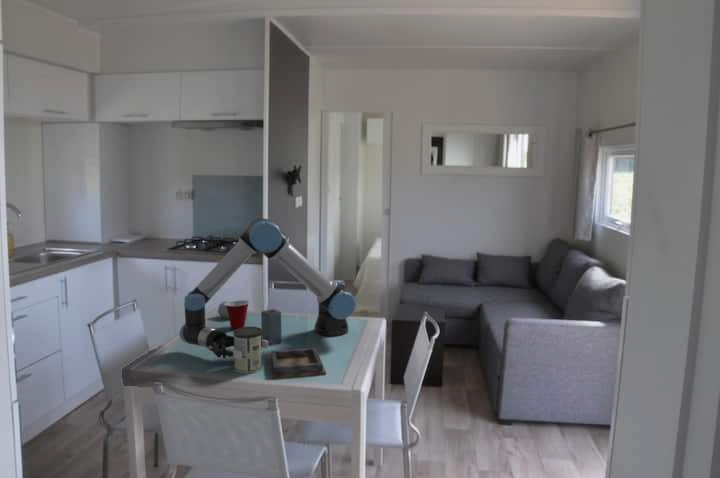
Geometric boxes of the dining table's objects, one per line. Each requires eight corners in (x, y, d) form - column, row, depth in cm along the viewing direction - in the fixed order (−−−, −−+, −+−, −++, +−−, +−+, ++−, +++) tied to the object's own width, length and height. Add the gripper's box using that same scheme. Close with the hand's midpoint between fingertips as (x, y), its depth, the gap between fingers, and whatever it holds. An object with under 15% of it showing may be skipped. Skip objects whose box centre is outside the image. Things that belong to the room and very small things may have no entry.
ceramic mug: (229, 321, 248) (229, 305, 247) (217, 318, 253) (217, 302, 252) (246, 316, 257) (246, 301, 256) (234, 313, 262) (234, 298, 261)
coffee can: (243, 361, 197) (243, 325, 196) (268, 365, 194) (267, 328, 192) (228, 371, 188) (227, 333, 186) (253, 375, 184) (253, 336, 183)
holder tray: (317, 355, 204) (317, 347, 204) (325, 374, 186) (325, 364, 185) (268, 359, 200) (268, 350, 199) (271, 378, 182) (271, 369, 181)
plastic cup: (238, 322, 246) (238, 297, 244) (254, 327, 240) (254, 301, 238) (220, 328, 237) (219, 302, 235) (236, 333, 231) (235, 306, 229)
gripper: (237, 339, 210) (277, 349, 199) (187, 358, 189) (229, 371, 178) (236, 321, 209) (277, 330, 198) (186, 338, 188) (228, 349, 177)
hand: (254, 349), depth 188 cm, fingers open, 13 cm apart
